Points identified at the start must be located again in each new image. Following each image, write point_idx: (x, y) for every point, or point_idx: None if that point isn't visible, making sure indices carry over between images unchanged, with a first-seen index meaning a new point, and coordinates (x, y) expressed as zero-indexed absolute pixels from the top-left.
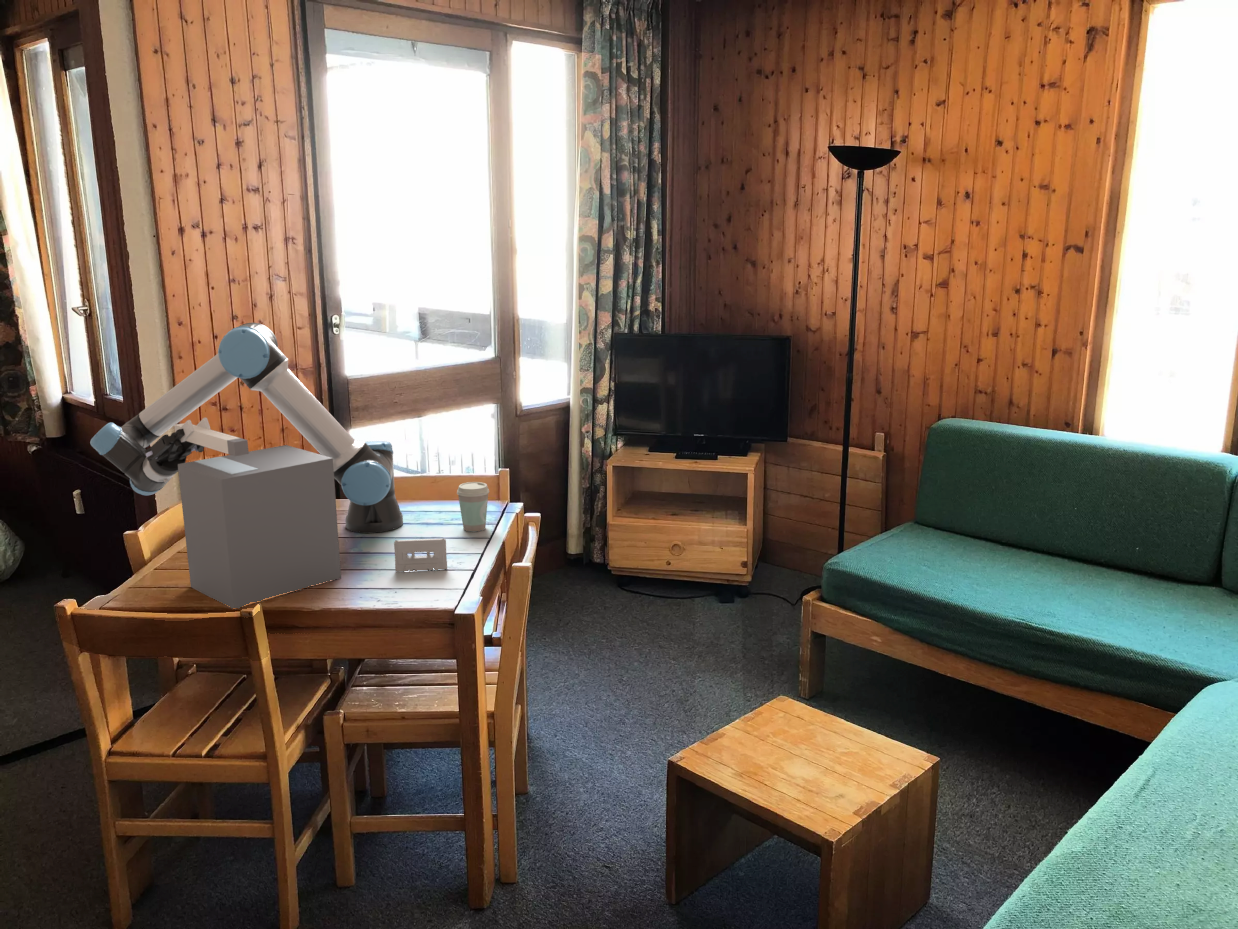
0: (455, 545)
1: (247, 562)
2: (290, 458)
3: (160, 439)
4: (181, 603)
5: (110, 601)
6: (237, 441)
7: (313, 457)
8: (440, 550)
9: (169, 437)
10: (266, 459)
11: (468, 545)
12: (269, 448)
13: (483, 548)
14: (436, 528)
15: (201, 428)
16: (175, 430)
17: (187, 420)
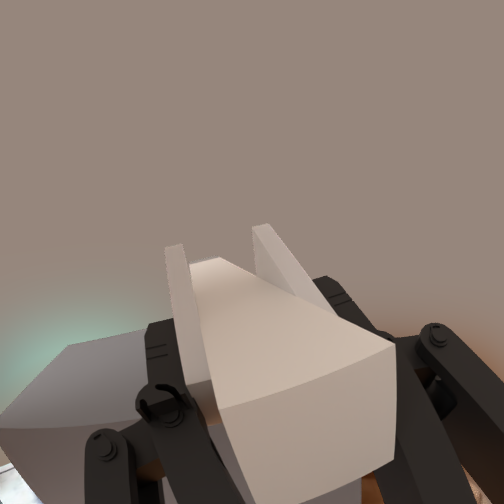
0: (9, 490)
1: None
2: (98, 356)
3: (476, 365)
4: (371, 489)
5: (478, 495)
6: (208, 257)
7: (75, 352)
8: None
9: (405, 342)
10: (130, 359)
11: (6, 482)
12: (32, 424)
13: (10, 470)
14: None
15: (213, 291)
16: (387, 395)
17: (267, 224)
